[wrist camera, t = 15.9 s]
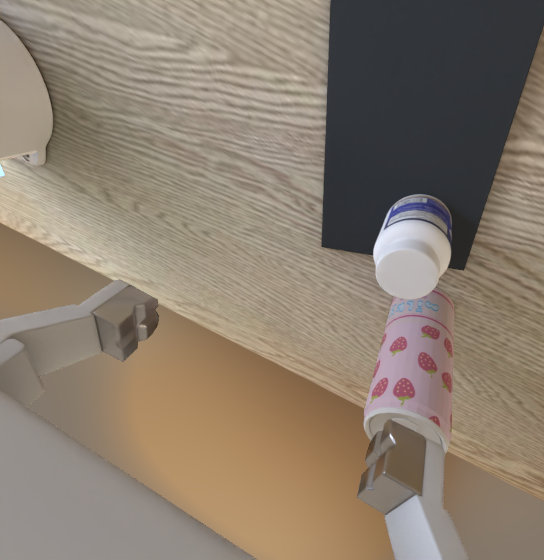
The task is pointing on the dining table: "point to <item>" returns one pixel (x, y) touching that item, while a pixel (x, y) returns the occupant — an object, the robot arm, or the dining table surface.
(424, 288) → the pill bottle
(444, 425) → the beverage can
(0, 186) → the dining table surface
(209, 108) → the dining table surface
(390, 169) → the felt mat
